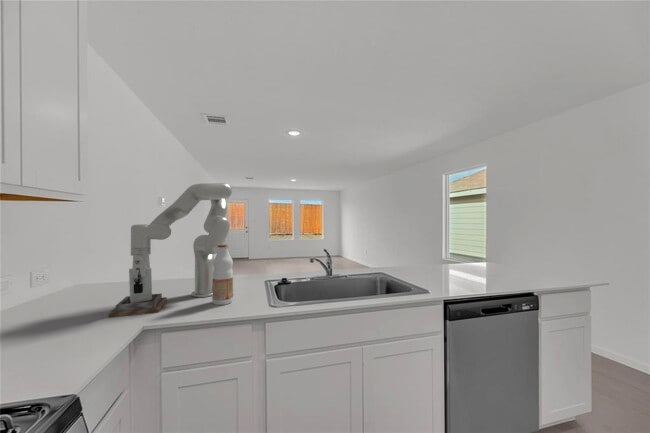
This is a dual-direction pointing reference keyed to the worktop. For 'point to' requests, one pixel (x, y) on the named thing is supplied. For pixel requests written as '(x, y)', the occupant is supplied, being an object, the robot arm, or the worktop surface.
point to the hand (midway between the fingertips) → (140, 290)
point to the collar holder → (138, 306)
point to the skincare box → (147, 288)
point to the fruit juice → (222, 277)
